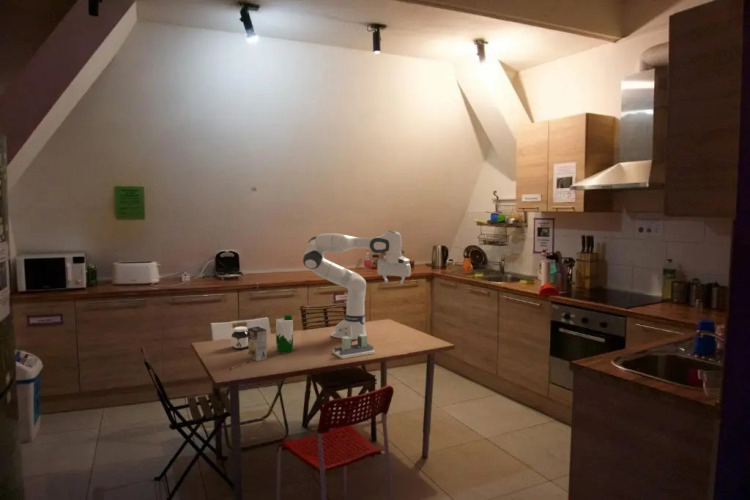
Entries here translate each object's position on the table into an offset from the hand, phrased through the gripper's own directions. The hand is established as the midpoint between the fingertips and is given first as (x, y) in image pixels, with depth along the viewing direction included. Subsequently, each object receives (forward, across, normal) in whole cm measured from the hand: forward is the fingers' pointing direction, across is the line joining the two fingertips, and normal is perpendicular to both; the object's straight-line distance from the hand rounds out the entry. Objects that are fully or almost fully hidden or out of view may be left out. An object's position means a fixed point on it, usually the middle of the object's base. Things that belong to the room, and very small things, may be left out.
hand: (393, 283), depth 290 cm
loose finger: (+36, -16, -26) cm, 47 cm away
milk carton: (+37, -50, -37) cm, 72 cm away
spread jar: (+37, -75, -42) cm, 94 cm away
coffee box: (+37, -55, -54) cm, 85 cm away
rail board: (+37, -14, -22) cm, 45 cm away
